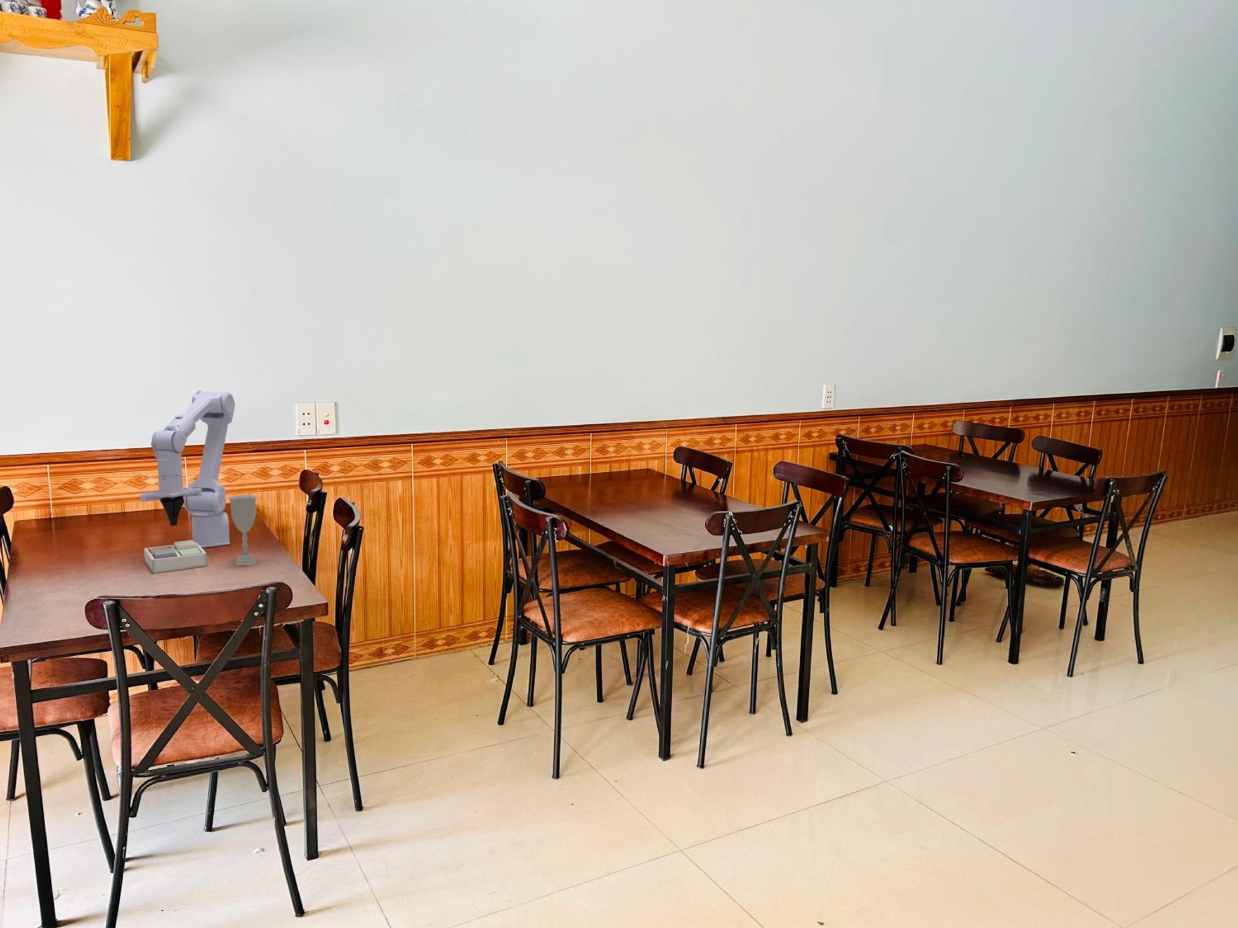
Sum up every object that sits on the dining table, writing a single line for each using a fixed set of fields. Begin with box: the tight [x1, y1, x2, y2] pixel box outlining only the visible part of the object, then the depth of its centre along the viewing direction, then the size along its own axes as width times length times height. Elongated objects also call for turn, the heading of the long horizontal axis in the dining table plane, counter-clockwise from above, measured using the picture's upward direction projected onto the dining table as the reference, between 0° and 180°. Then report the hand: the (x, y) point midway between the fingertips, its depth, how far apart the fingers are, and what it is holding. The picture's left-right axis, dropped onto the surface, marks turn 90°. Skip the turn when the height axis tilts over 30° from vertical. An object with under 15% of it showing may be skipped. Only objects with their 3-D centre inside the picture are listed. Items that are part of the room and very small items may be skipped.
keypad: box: [143, 542, 208, 574], centre depth 239 cm, size 13×13×4 cm
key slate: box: [153, 548, 176, 559], centre depth 235 cm, size 5×5×2 cm
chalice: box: [228, 494, 258, 566], centre depth 240 cm, size 7×7×18 cm
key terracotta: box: [148, 545, 170, 553], centre depth 240 cm, size 5×5×2 cm
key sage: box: [179, 549, 201, 556], centre depth 238 cm, size 5×5×2 cm
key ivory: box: [173, 539, 196, 550], centre depth 243 cm, size 5×5×2 cm
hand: (173, 524), depth 241 cm, fingers closed
